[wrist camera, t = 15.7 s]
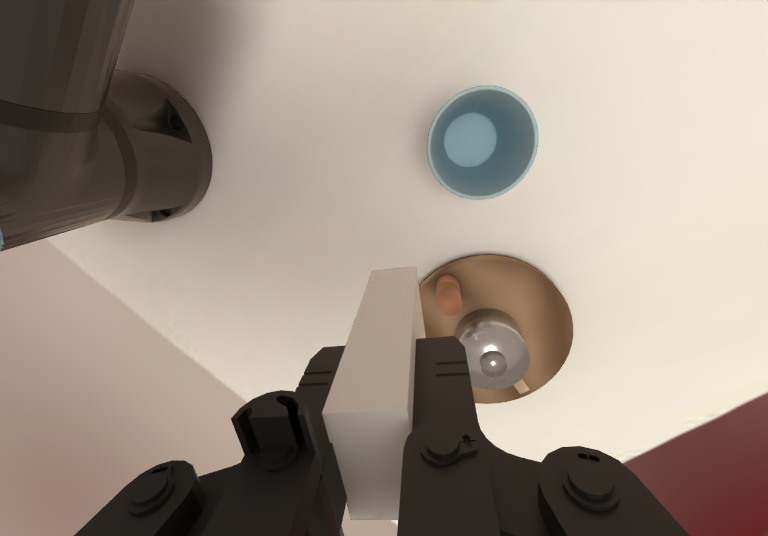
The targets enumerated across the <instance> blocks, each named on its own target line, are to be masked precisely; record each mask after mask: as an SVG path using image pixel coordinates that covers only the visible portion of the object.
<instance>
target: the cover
mask: <svg viewBox="0 0 768 536" xmlns="http://www.w3.org/2000/svg"><path fill="white" fill-rule="evenodd" d="M454 336H455V337H456V338H457V339H458V340H459V341H460V342H461V343H462V344H463V345H464V346H465V350H466V356H467V362H468V367H469V374H470V379H471V385H473V386H475V387H478V388H481V389H486V390H500V389H505V388H508V387H510V386H512V385H514V384H516V383H517V382H519V381H520V380H521V379H522V378H523V377H524V375H525V374H526V372H527V370H528V368H529V364H530V356H529V352H528V349H527V346H526V344H525V342H524V339H523V337H522V334H521V332H520V329H519V327H518V325H517V323H516V321H515V320H514V319H513V318H512V317H511V316H510V315H508V314H507V313H505V312H503V311H501V310H497V309H492V308H484V309H478V310H475V311H472V312H470V313H469V314H467V315H466V316H464V317H463V318H462V319H461V320H460V322H459V323H458V325H457V327H456V329H455V334H454Z"/></svg>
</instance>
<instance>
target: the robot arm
mask: <svg viewBox="0 0 768 536" xmlns="http://www.w3.org/2000/svg"><path fill="white" fill-rule="evenodd" d="M133 3H134V0H0V251H4V250H7V249H10V248H14V247H17V246H20V245H24V244H27V243H30V242H34V241H37V240H40V239H44V238H47V237H50V236H54V235H57V234H60V233H64V232H67V231H70V230H74V229H77V228H80V227H84V226H87V225H90V224H93V223H97V222H100V221H103V220H107V219H112V220H123V221H134V222H147V223H151V222H161V221H165V220H169V219H171V218H174V217H177V216H180V215H183V214H185V213H187V212H188V211H190V210H191V209H192V208H194V207H195V206H196V205H197V204H198V203H199V201H200V200H201V199H202V197H203V196H204V194H205V192H206V190H207V187H208V184H209V181H210V176H211V167H212V160H211V151H210V146H209V142H208V138H207V135H206V133H205V130H204V128H203V126H202V124H201V122H200V120H199V118H198V116H197V115H196V113H195V112H194V110H193V109H192V108H191V106H190V105H189V104H188V103H187V101H186V100H185V99H184V98H183V97H182V96H181V95H180V94H179V93H178V92H176V91H175V90H174V89H173V88H171V87H170V86H168V85H167V84H165V83H164V82H162V81H160V80H158V79H156V78H153V77H150V76H147V75H144V74H138V73H133V72H127V71H119V70H114V69H115V65H116V62H117V58H118V55H119V51H120V48H121V45H122V41H123V38H124V34H125V31H126V27H127V24H128V20H129V17H130V13H131V10H132V6H133ZM231 420H232V423H233V425H234V428H235V431H236V433H237V436H238V438H239V441H240V443H241V446H242V449H243V451H244V454H245V455H244V457H243V459H242V461H241V463H239V464H237V465H234V466H232V467H229V468H225V469H222V470H219V471H216V472H212V473H209V474H206V475H203V476H199V477H198V476H197V474H196V472H195V469H194V467H193V466H192V465H191V464H189V463H187V462H186V461H169V462H166V463H162V464H159V465H156V466H155V467H153V468H151V469H149V470H147V471H145V472H144V473H142V474H140V475H139V476H138V477H137V478H136V479H134V480H133V481H132V482H130V483H129V484H128V485H127V486H125V487H124V488H123V489H122V490H121V491H120V492H119V493H118V494H117V495H116V496H115V497H114V498H113V499H112V500H111V501H110V502H109V503H108V504H107V505H106V506H105V507H103V508H102V509H101V510H100V511H99V512H98V513H97V514H96V515H95V516H94V517H93V518H92V519H91V520H90V521H89V522H88V523H87V524H86V525H85V526H84V527H83V528H82V529H81V530H80V531H78V532H77V533H76V534H75V535H74V536H344V533H343V530H342V526H341V525H342V519H343V515H344V510H345V505H346V503H347V507H348V510H349V514H350V518H351V520H398V532H397V536H689V535H688V534H687V532H686V531H685V530H684V529H683V528H682V527H681V526H680V525H679V523H678V522H677V521H676V520H675V519H674V518H673V517H672V516H671V515H670V513H669V512H668V511H667V510H666V509H665V508H664V507H663V506H662V505H661V503H660V502H659V501H658V500H657V499H656V498H655V497H654V495H653V494H652V493H651V492H650V491H649V490H648V489H647V488H646V486H645V485H644V484H643V483H642V482H641V481H640V480H639V479H638V478H637V476H636V475H635V474H634V473H633V472H631V471H630V470H629V469H628V468H627V467H626V466H624V465H623V464H622V463H621V462H620V461H619V460H617V459H615V458H613V457H611V456H609V455H607V454H605V453H603V452H601V451H599V450H594V449H590V448H585V447H581V446H574V447H561V448H559V449H557V450H555V451H553V452H550V453H548V454H547V456H546V457H545V458H544V460H543V461H542V462H537V461H533V460H529V459H525V458H521V457H518V456H515V455H512V454H509V453H506V452H505V451H503V450H501V449H499V448H498V447H496V446H495V445H493V444H492V443H491V442H490V441H489V440H488V439H487V438H486V437H485V435H484V434H483V433H482V431H481V429H480V426H479V423H478V419H477V413H476V408H475V402H474V396H473V390H472V385H471V379H470V374H469V367H468V362H467V356H466V350H465V346H464V345H463V344H462V343H461V342H460V341H459V340H458V339H457V338H456V337H455V336H446V337H433V338H426V336H425V328H424V321H423V314H422V306H421V299H420V291H419V284H418V277H417V269H416V266H415V267H406V268H396V269H387V270H378V271H372V273H371V276H370V278H369V281H368V284H367V287H366V290H365V293H364V295H363V298H362V301H361V304H360V307H359V310H358V312H357V315H356V318H355V321H354V324H353V327H352V329H351V332H350V335H349V338H348V341H347V344H346V346H335V347H323V348H322V349H321V350H320V351H319V352H318V353H317V354H316V355H315V356H314V357H313V358H311V359H310V362H309V364H308V366H307V368H306V370H305V372H304V376H302V378H301V380H300V382H299V387H297V389H296V391H295V392H293V391H283V390H280V391H275V392H270V393H266V394H264V395H261V396H259V397H257V398H254V399H252V400H251V401H250V402H248V403H247V404H245V405H244V406H243V407H241V408H240V409H239V410H238V412H237V413H236V414H235V415H234V416H233V417H232V418H231Z"/></svg>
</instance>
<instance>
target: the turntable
mask: <svg viewBox="0 0 768 536" xmlns="http://www.w3.org/2000/svg"><path fill="white" fill-rule="evenodd" d="M419 291H420V299H421V306H422V314H423V321H424V328H425V336H426V338H433V337H446V336H454V334H455V329H456V327H457V325H458V323H459V322H460V320H461V319H462V318H463V317H464V316H466V315H467V314H469V313H470V312H472V311H475V310H478V309H484V308H492V309H497V310H501V311H503V312H505V313H507V314H508V315H510V316H511V317H512V318H513V319H514V320H515V321H516V323H517V325H518V327H519V329H520V332H521V334H522V337H523V339H524V342H525V344H526V346H527V349H528V352H529V356H530V364H529V368H528V370H527V372H526V374H525V375H524V377H523V378H522V379H521V380H520V381H519V382H517V383H516V384H514V385H512V386H510V387H508V388H505V389H500V390H486V389H481V388H478V387H475V386H473V385H472V390H473V396H474V402H475V403H485V404H489V403H501V402H507V401H511V400H515V399H518V398H521V397H524V396H526V395H528V394H530V393H532V392H534V391H536V390H538V389H539V388H541V387H542V386H544V385H545V384H546V383H547V382H548V381H550V380H551V379H552V378H553V377H554V376H555V375H556V373H557V372H558V371H559V370H560V368H561V367H562V365H563V364H564V362H565V360H566V358H567V356H568V354H569V351H570V348H571V345H572V339H573V322H572V316H571V313H570V310H569V307H568V305H567V303H566V301H565V299H564V297H563V296H562V294H561V293H560V292H559V290H558V289H557V288H556V286H555V285H554V284H553V282H552V281H551V280H550V279H549V278H548V277H547V276H546V275H544V274H543V273H542V272H540V271H539V270H538V269H536V268H535V267H533V266H531V265H529V264H527V263H525V262H522V261H520V260H517V259H514V258H510V257H505V256H498V255H479V256H471V257H467V258H463V259H459V260H456V261H454V262H451V263H449V264H447V265H445V266H443V267H441V268H439V269H438V270H437V271H435V272H434V273H432V274H431V275H430V276H429V277H428V278H427V279H426V280H424V281H423V283H422V284H421V285H420V286H419Z"/></svg>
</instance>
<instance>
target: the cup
mask: <svg viewBox="0 0 768 536" xmlns="http://www.w3.org/2000/svg"><path fill="white" fill-rule="evenodd" d="M537 147H538V128H537V124H536V120H535V118H534V115H533V113H532V111H531V110H530V108H529V106H528V105H527V104H526V103H525V102H524V101H523V100H522V99H521V98H520V97H519V96H518V95H516V94H515V93H513V92H511V91H509V90H507V89H505V88H502V87H497V86H478V87H473V88H470V89H467V90H465V91H463V92H461V93H459V94H457V95H456V96H454V97H453V98H451V99H450V100H449V101H448V102H447V103H446V104H445V105H444V106H443V107H442V108H441V109H440V111H439V112H438V114H437V115H436V117H435V119H434V120H433V123H432V125H431V128H430V131H429V135H428V140H427V154H428V160H429V164H430V167H431V169H432V172H433V173H434V175H435V177H436V178H437V180H438V181H439V182H440V183H441V184H442V185H443V186H444V187H445V188H446V189H447V190H449V191H450V192H452V193H454V194H456V195H458V196H460V197H463V198H468V199H476V200H480V199H488V198H493V197H496V196H499V195H501V194H503V193H505V192H507V191H509V190H510V189H512V188H513V187H514V186H515V185H517V184H518V183H519V182H520V181H521V180H522V179H523V178H524V176H525V175H526V174H527V172H528V171H529V169H530V167H531V165H532V163H533V161H534V158H535V156H536V152H537Z"/></svg>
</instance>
